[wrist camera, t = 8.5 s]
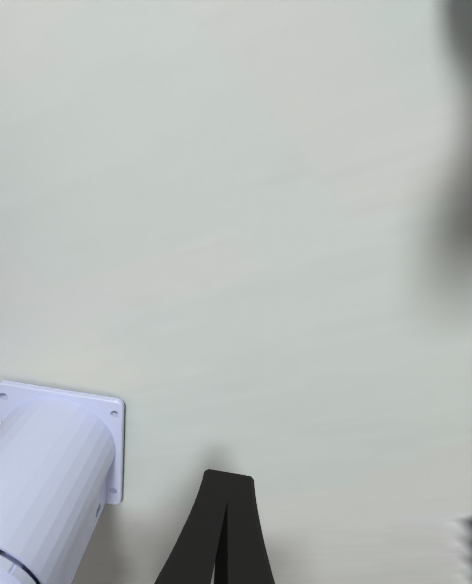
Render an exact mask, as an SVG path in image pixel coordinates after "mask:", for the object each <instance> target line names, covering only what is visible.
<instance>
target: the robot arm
mask: <svg viewBox="0 0 472 584" xmlns="http://www.w3.org/2000/svg"><path fill="white" fill-rule="evenodd" d="M5 394H6V395H5ZM124 406H125V405H124V402H123V401H122V400H121V399H118V398H114V397H107V396H101V395H95V394H89V393H82V392H76V391H70V390H63V389H57V388H51V387H45V386H38V385H32V384H26V383H19V382H13V381H7V380H2V381H0V423H1V424H0V584H72V581H73V579H74V576H75V574H76V572H77V569H78V567H79V565H80V562H81V560H82V558H83V555H84V553H85V550H86V548H87V546H88V543H89V541H90V539H91V536H92V534H93V531H94V529H95V527H96V524H97V522H98V520H99V517H100V515H101V513H102V510H103V508H104V505H105V503H107V504H113V505H116V504H119V503H120V501H121V499H122V481H123V443H124ZM114 411H116V412H117V413H115V412H114ZM214 563H215V572H214V584H275V582H274V579H273V575H272V572H271V568H270V564H269V560H268V556H267V552H266V548H265V544H264V539H263V535H262V530H261V525H260V520H259V515H258V510H257V504H256V497H255V488H254V480H253V478H252V477H251V476H245V475H240V474H234V473H228V472H222V471H217V470H211V469H208V470H206V471H205V472H204V476H203V480H202V483H201V486H200V489H199V492H198V495H197V498H196V500H195V503H194V505H193V507H192V510H191V512H190V515H189V517H188V519H187V521H186V523H185V525H184V528H183V530H182V532H181V534H180V536H179V538H178V540H177V542H176V544H175V546H174V548H173V550H172V552H171V554H170V556H169V558H168V560H167V561H166V563H165V565H164V567H163V569H162V571H161V572H160V574H159V576H158V578H157V580H156V582H155V583H154V584H210V583H211V578H212V573H213V568H214Z"/></svg>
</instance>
